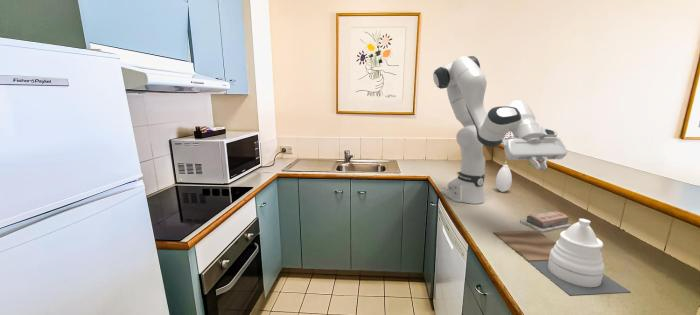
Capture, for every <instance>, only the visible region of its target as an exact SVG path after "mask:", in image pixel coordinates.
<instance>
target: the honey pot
mask: <svg viewBox="0 0 700 315" xmlns="http://www.w3.org/2000/svg"><path fill="white" fill-rule="evenodd" d="M590 224H591V220H589V219H586V218H578V221H577V222H575V223H573V224H572V225H571V226H570V227H567V229H565V230H563V231H561V232H560V233H559V236H560V237H559V238H558V240H556V241H555V242H556V244H555V245H554V248H552V249H551V251H550V256H549V262H548V269H549V270H550V272H551V273H553V274H554V275H555V276H557V277H558V278H560V279H562V280H564V281H566V282H569V283H572V284H575V285H578V286H583V287H597V286H599V285H600V284H601V281H602V277H603V274H604V272H605V271H604V270H605V263H604V261H603V260H604V259H603V253H602V252H601V249H602V248H603V247H604V243H603V241H602V240H600V238H598V237H597V236H596V234H595V232H594V229H593V228H592V227H591V226H590Z"/></svg>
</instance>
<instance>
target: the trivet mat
mask: <svg viewBox="0 0 700 315" xmlns="http://www.w3.org/2000/svg"><path fill="white" fill-rule="evenodd" d="M548 262H549V261H529V262H528V263H529V264H531V266H533V267H534V268H535V269H537V270H538V271H539V272H540V273H541V274H542V275H543V276H545V277H546V278H547V279H549V280H550V281H551V282H552V283H554V285H556V287H559V288H560V289H561V290H562V291H564V293H566V294H567V295H568V296H571V297H572V296H589V295H591V296H592V295H606V294H607V295H608V294H609V295H610V294H624V293H625V294H626V293H631V291H630V290H629V289H627V288H626V287H624V286H623V285H621V284H620V283H618V282H616V281H615V280H614V279H612V278H610V277H609V276H608V275H605V274H604V273H603V277H602V281H601V284H600V285H599V286H597V287H583V286H578V285H575V284H572V283H569V282H566V281H564V280H562V279H560V278H558V277H557V276H555V275H554V274H553V273H551V272H550V270H549V269H548Z"/></svg>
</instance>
